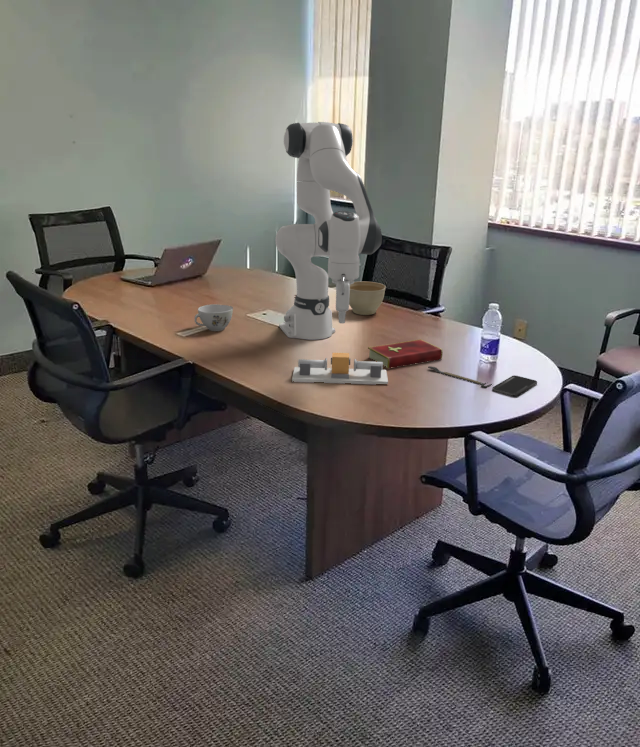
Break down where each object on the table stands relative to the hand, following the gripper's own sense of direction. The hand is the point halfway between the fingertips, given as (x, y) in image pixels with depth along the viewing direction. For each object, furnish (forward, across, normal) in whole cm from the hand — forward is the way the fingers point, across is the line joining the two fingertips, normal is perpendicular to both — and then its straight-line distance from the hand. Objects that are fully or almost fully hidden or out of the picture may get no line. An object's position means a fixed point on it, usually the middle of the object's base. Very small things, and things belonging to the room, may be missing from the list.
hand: (341, 318), depth 193 cm
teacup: (+19, +44, +46) cm, 67 cm away
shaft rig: (+18, 0, 0) cm, 18 cm away
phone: (+19, -4, -51) cm, 55 cm away
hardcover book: (+19, +19, -21) cm, 34 cm away
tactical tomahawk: (+19, +4, -36) cm, 41 cm away
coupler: (+17, 0, 0) cm, 17 cm away
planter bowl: (+19, +74, -9) cm, 77 cm away
